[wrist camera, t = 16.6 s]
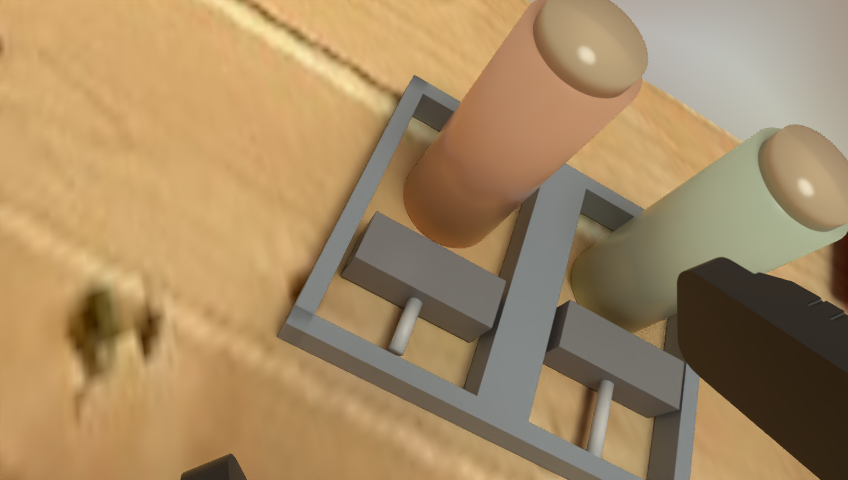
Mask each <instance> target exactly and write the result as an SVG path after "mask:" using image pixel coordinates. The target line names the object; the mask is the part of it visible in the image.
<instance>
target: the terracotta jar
mask: <svg viewBox="0 0 848 480" xmlns="http://www.w3.org/2000/svg"><path fill="white" fill-rule="evenodd" d="M647 62H648V53H647V48H646V45H645V42H644V40H643V38H642V36H641V34H640V32H639V30H638V29H637V27H636V26H635V24H634V23H633V22H632V20H631V19H630V18H629V17H628V16H627V15H626V14H625V13H624V12H623V11H622V10H621V9H620V8H619V7H618V6H616V5H615V4H614V3H612V2H611V1H610V0H535V1H534V2H533V3H531V5H530V6H529V7H528V8H527V9H526V11H525V12H524V14H523V15H522V17H521V18H520V19H519V21H518V22H517V24H516V25H515V26H514V28H513V29H512V31H511V32H510V33H509V35H508V36H507V38H506V39H505V41H504V42H503V43H502V45H501V46H500V48H499V49H498V50H497V52H496V53H495V55H494V56H493V57H492V59H491V60H490V62H489V63H488V64H487V66H486V67H485V69H484V70H483V72H482V73H481V74H480V76H479V77H478V79H477V80H476V81H475V83H474V84H473V86H472V87H471V88H470V90H469V91H468V93H467V94H466V95H465V97H464V98H463V100H462V101H461V103H460V104H459V105H458V107H457V108H456V110H455V111H454V112H453V114H452V115H451V117H450V118H449V119H448V121H447V122H446V124H445V125H444V127H443V128H442V129H441V131H440V132H439V134H438V135H437V136H436V138H435V139H434V141H433V142H432V143H431V145H430V146H429V148H428V149H427V150H426V152H425V153H424V155H423V156H422V158H421V159H420V160H419V162H418V163H417V165H416V166H415V167H414V169H413V170H412V172H411V173H410V174H409V176H408V178H407V180H406V182H405V186H404V195H403V196H404V203H405V207H406V210H407V213H408V215H409V217H410V219H411V220H412V222H413V223H414V225H415V226H416V227H417V228H418V229H419V230H420V231H421V232H422V233H423V234H424V235H425V236H427V237H428V238H429V239H431V240H433V241H434V242H436V243H438V244H441V245H444V246H447V247H452V248H465V247H470V246H473V245H475V244H477V243H479V242H480V241H481V240H483V239H484V238H485V237H486V236H487V235H488V234H489V233H490V232H491V231H493V230H494V229H495V228H496V227H497V226H498V225H499V224H500V223H501V222H502V221H503V220H504V219H506V218H507V217H508V216H509V215H510V214H511V213H512V212H513V211H514V210H515V209H516V208H517V207H519V206H520V205H521V204H522V203H523V202H524V201H525V200H526V199H527V198H528V197H529V196H530V195H532V194H533V193H534V192H535V191H536V190H537V189H538V188H539V187H540V186H541V185H542V184H543V183H545V182H546V181H547V180H548V179H549V178H550V177H551V176H552V175H553V174H554V173H555V172H556V171H558V170H559V169H560V168H561V167H562V166H563V165H564V164H565V163H566V162H567V161H568V160H569V159H570V158H572V157H573V156H574V155H575V154H576V153H577V152H578V151H579V150H580V149H581V148H582V147H583V146H585V145H586V144H587V143H588V142H589V141H590V140H591V139H592V138H593V137H594V136H595V135H596V134H598V133H599V132H600V131H601V130H602V129H603V128H604V127H605V126H606V125H607V124H608V123H609V122H611V121H612V120H613V119H614V118H615V117H616V116H617V115H618V114H619V113H620V112H621V111H622V110H624V109H625V108H626V107H627V106H628V105H629V104H630V103H631V102H632V101H633V100H634V99H635V98H636V97H637V95H638V93H639V91H640V88H641V84H642V75H643V74H644V72H645V70H646V68H647Z"/></svg>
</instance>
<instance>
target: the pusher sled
mask: <svg viewBox="0 0 848 480" xmlns="http://www.w3.org/2000/svg"><path fill="white" fill-rule="evenodd" d="M341 276H342V277H344V278H346V279H348V280H350V281H352V282H354V283H356V284H357V285H359V286H361V287H363V288H365V289H367V290H369V291H371V292H373V293H375V294H377V295H379V296H381V297H383V298H385V299H387V300H388V301H390V302H392V303H394V304H396V305H398V306H400V307H402V308H404V311H403V313H402V316H401V318H400V321H399V323H398V326H397V328H396V331H395V333H394V336H393V338H392V341H391V343H390V345H389V348H388V350H389V352H391V353H392V354H394V355H397V356H402V355H403V354H404V351H405V348H406V346H407V343H408V341H409V338H410V335H411V333H412V330H413V328H414V325H415V323H416V320H417V317H418V316H419V317H421V318H423V319H425V320H427V321H429V322H431V323H433V324H435V325H437V326H439V327H441V328H443V329H445V330H447V331H449V332H450V333H452V334H454V335H456V336H458V337H460V338H462V339H464V340H466V341H468V342H472V341H473V340H475V339H476V338H478V337H479V336H481V335H482V334H484V333H485V332H487V331H488V330H490V329H492V326H493V323H494V320H495V316H496V313H497V310H498V307H499V303H500V300H501V297H502V294H503V290H504V287H505V284H506V281H505V280H503V279H501V278H500V277H498V276H496V275H494V274H492V273H490V272H488V271H487V270H485V269H483V268H481V267H479V266H477V265H476V264H474V263H472V262H470V261H468V260H466V259H464V258H463V257H461V256H459V255H457V254H455V253H453V252H451V251H450V250H448V249H446V248H444V247H442V246H440V245H439V244H437V243H435V242H433V241H431V240H429V239H427V238H426V237H424V236H422V235H420V234H418V233H416V232H414V231H413V230H411V229H409V228H407V227H405V226H403V225H401V224H400V223H398V222H396V221H394V220H392V219H390V218H389V217H387V216H385V215H383V214H381V213H379V212H377V211H376V213H375V214H374V216H373V217H372V219H371V220H370V221H369V223H368V224H367V226H366V227H365V229H364V230H363V232H362V233H361V235H360V237H359V240H358V242H357V244H356V246H355V248H354V250H353V252H352V254H351V256H350V258H349V260H348V262H347V264H346V266H345V268H344V270H343V273H342V275H341Z"/></svg>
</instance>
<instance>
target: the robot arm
mask: <svg viewBox="0 0 848 480" xmlns="http://www.w3.org/2000/svg"><path fill="white" fill-rule="evenodd" d="M677 337H678V345H679V348H680V351H681V353H682V355H683V357H684V359H685V361H686V362H687V364H688V365H689V367H690V368H691V369H692V370H693V371H694V372H695V373H696V374H697V375H698V376H700V377H701V378H702V379H703V380H704V381H705V382H707V383H708V384H709V385H710V386H711V387H712V388H714V389H715V390H716V391H717V392H718V393H719V394H721V395H722V396H723V397H724V398H725V399H727V400H728V401H729V402H730V403H731V404H732V405H734V406H735V407H736V408H737V409H738V410H739V411H741V412H742V413H743V414H744V415H745V416H746V417H748V418H749V419H750V420H751V421H752V422H753V423H755V424H756V425H757V426H758V427H759V428H760V429H762V430H763V431H764V432H765V433H766V434H768V435H769V436H770V437H771V438H772V439H773V440H775V441H776V442H777V443H778V444H779V445H780V446H782V447H783V448H784V449H785V450H786V451H787V452H789V453H790V454H791V455H792V456H793V457H794V458H796V459H797V460H798V461H799V462H800V463H801V464H803V465H804V466H805V467H806V468H807V469H809V470H810V471H811V472H812V473H813V474H814V475H816V476H817V477H818V478H819V479H820V480H848V315H846V314H845V313H844V311H843V310H842V309H840V308H838V307H836V306H835V305H833V304H831V303H829V302H827V301H825V302H823V301H822V300H821V298H820V297H819V296H817V295H815V294H813V293H812V292H810V291H808V290H806V289H805V288H803V287H801V286H799V285H798V284H796V283H794V282H792V281H788V280H785V279H781V278H778V277H774V276H771V275H767V274H764V273H760V272H758V273H756V274H754V273H752V272H750V271H749V270H747V269H745V268H744V267H742V266H740V265H739V264H737V263H735V262H734V261H732V260H730V259H728V258H725V257H717V258H714V259H712V260H710V261H707V262H705V263H702V264H700V265H697V266H695V267H692V268H690V269H687V270H685V271H683V272H681V273H680V274H679V276H678V279H677ZM181 480H247V479H246V477H245V475H244V473H243V471H242V469H241V467H240V465H239V464H238V462H237V460H236V458H235V457H234V456H233V455H232V454H228V455H226V456H223V457H221V458H218V459H216V460H213V461H211V462H208V463H206V464H204V465H201V466H199V467H196V468H194V469H191V470H189V471H186V472H184V473H183V474H182V476H181Z"/></svg>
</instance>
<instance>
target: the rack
mask: <svg viewBox="0 0 848 480" xmlns="http://www.w3.org/2000/svg"><path fill="white" fill-rule="evenodd" d="M460 103H461V102H460V101H458V100H456V99H455V98H453V97H451V96H450V95H448V94H446V93H444V92H443V91H441V90H439V89H438V88H436V87H434V86H433V85H431V84H429V83H427V82H426V81H424V80H422V79H421V78H419V77H417V76H415V75H414V76H413V78H412V80H411V81H410V83H409V85H408V87H407V88H406V90H405V92H404V94H403V95H402V97H401V99H400V101H399V103H398V105H397V107H396V109H395V111H394V113H393V114H392V116H391V118H390V120H389V122H388V124H387V126H386V128H385V130H384V132H383V134H382V136H381V138H380V139H379V141H378V143H377V145H376V147H375V149H374V151H373V153H372V155H371V157H370V159H369V161H368V163H367V165H366V166H365V168H364V170H363V172H362V174H361V176H360V178H359V180H358V182H357V184H356V186H355V188H354V190H353V192H352V193H351V195H350V197H349V199H348V201H347V203H346V205H345V207H344V209H343V211H342V213H341V215H340V217H339V219H338V220H337V222H336V224H335V226H334V228H333V230H332V232H331V234H330V236H329V238H328V240H327V242H326V244H325V246H324V247H323V249H322V251H321V253H320V255H319V257H318V259H317V261H316V263H315V265H314V267H313V269H312V271H311V272H310V274H309V276H308V278H307V280H306V282H305V284H304V286H303V288H302V290H301V292H300V294H299V296H298V298H297V299H296V301H295V303H294V305H293V307H292V309H291V311H290V313H289V315H288V317H287V319H286V321H285V323H284V325H283V326H282V328H281V330H280V332H279V334H278V336H277V337H279V338H281V339H283V340H285V341H287V342H289V343H291V344H293V345H295V346H297V347H299V348H301V349H303V350H305V351H307V352H309V353H311V354H313V355H315V356H317V357H319V358H321V359H323V360H325V361H327V362H330V363H332V364H334V365H336V366H338V367H340V368H342V369H344V370H346V371H348V372H350V373H352V374H354V375H356V376H358V377H360V378H362V379H364V380H366V381H368V382H370V383H372V384H374V385H376V386H378V387H381V388H383V389H385V390H387V391H389V392H391V393H393V394H395V395H397V396H399V397H401V398H403V399H405V400H407V401H409V402H411V403H413V404H415V405H417V406H419V407H421V408H423V409H425V410H427V411H429V412H432V413H434V414H436V415H438V416H440V417H442V418H444V419H446V420H448V421H450V422H452V423H454V424H456V425H458V426H460V427H462V428H464V429H466V430H468V431H470V432H472V433H474V434H476V435H478V436H480V437H483V438H485V439H487V440H489V441H491V442H493V443H495V444H497V445H499V446H501V447H503V448H505V449H507V450H509V451H511V452H513V453H515V454H517V455H519V456H521V457H523V458H525V459H527V460H529V461H531V462H533V463H536V464H538V465H540V466H542V467H544V468H546V469H548V470H550V471H552V472H554V473H556V474H558V475H560V476H562V477H564V478H566V479H568V480H643V479H641V478H639V477H637V476H635V475H633V474H631V473H629V472H627V471H625V470H623V469H621V468H619V467H617V466H615V465H613V464H611V463H609V462H607V461H605V460H603V459H601V457H602V451H603V445H604V440H605V434H606V428H607V422H608V417H609V411H610V405H611V400H614V401H616V402H618V403H620V404H622V405H623V406H625V407H627V408H629V409H631V410H633V411H635V412H637V413H639V414H641V415H643V416H645V417H646V418H650V417H654V416H655V422H654V430H653V438H652V445H651V453H650V460H649V468H648V476H647V480H690V473H691V462H692V451H693V441H694V430H695V420H696V409H697V399H698V388H699V377H700V376H698V375H697V374H696V373H695V372H694V371H693V370H692V369H691V368H690V367H689V365H688V364H687V362H686V361H685V359H684V357H683V355H682V353H681V351H680V348H679V345H678V337H677V314H675V315H673V316H671V317H668V324H667V331H666V339H665V347H664V351H663V350H661V349H659V348H657V347H656V346H654V345H652V344H650V343H648V342H646V341H645V340H643V339H641V338H639V337H637V336H635V335H634V334H632V333H630V332H628V331H626V330H624V329H623V328H621V327H619V326H617V325H615V324H613V323H612V322H610V321H608V320H606V319H604V318H602V317H601V316H599V315H597V314H595V313H593V312H591V311H590V310H588V309H586V308H584V307H582V306H580V305H579V304H577V303H575V302H573V301H571V300H569V301H567V302H566V303H564V304H562V305H561V306H559V307H557V304H558V300H559V296H560V291H561V287H562V283H563V279H564V275H565V271H566V267H567V263H568V259H569V255H570V251H571V247H572V243H573V239H574V235H575V231H576V227H577V223H578V219H579V215H580V212H581V213H583V214H584V215H586V216H588V217H590V218H591V219H593V220H595V221H597V222H598V223H600V224H602V225H604V226H605V227H607V228H609V229H611V230H612V231H615V230H616V229H618V228H619V227H620V226H622V225H623V224H625V223H626V222H628V221H629V220H631V219H632V218H634V217H635V216H636V215H638V214H639V213H641V212H642V211H644V209H643V208H641V207H639V206H637V205H636V204H634V203H632V202H631V201H629V200H627V199H625V198H624V197H622V196H620V195H619V194H617V193H615V192H614V191H612V190H610V189H608V188H607V187H605V186H603V185H602V184H600V183H598V182H596V181H595V180H593V179H591V178H590V177H588V176H586V175H585V174H583V173H581V172H579V171H578V170H576V169H574V168H573V167H571V166H569V165H567V164H566V163H565V164H564V165H563V166H562V167H561V168H560V169H559V170H558V171H556V172H555V173H554V174H553V175H552V176H551V177H550V178H549V179H548V180H547V181H546V182H545V183H543V184H542V185H541V186H540V187H539V188H538V189H537V190H536V191H535V192H534V193H533V194H532V195H530V196H529V197H528V198H527V199H526V200H525V201H524V202H523V203H522V206H521V209H520V212H519V216H518V219H517V222H516V225H515V228H514V231H513V234H512V238H511V241H510V244H509V247H508V250H507V253H506V257H505V260H504V263H503V266H502V269H501V272H500V276H499V277H500V278H501V279H503V280H505V281H506V284H505V287H504V290H503V294H502V297H501V300H500V303H499V307H498V310H497V313H496V316H495V320H494V323H493V326H492V329H490V330H488V331H487V332H485V333H484V334H482V335H481V336H480V339H479V342H478V345H477V348H476V351H475V354H474V358H473V361H472V364H471V367H470V370H469V373H468V377H467V380H466V383H465V386H464V389H462V388H460V387H458V386H456V385H454V384H452V383H450V382H448V381H446V380H444V379H442V378H440V377H438V376H436V375H434V374H432V373H430V372H428V371H426V370H424V369H422V368H420V367H418V366H416V365H414V364H412V363H410V362H408V361H406V360H404V359H402V358H400V357H398V356H396V355H394V354H392V353H390V352H388V351H386V350H384V349H382V348H380V347H378V346H376V345H374V344H372V343H370V342H368V341H366V340H364V339H362V338H360V337H358V336H356V335H354V334H352V333H350V332H348V331H346V330H344V329H342V328H340V327H338V326H336V325H334V324H332V323H330V322H328V321H326V320H324V319H322V318H320V317H318V316H316V315H314V314H315V312H316V310H317V308H318V306H319V304H320V302H321V300H322V298H323V296H324V294H325V292H326V290H327V288H328V286H329V284H330V282H331V280H332V278H333V275H334V273H335V271H336V269H337V267H338V265H339V263H340V261H341V259H342V257H343V255H344V253H345V251H346V249H347V247H348V245H349V243H350V241H351V239H352V237H353V235H354V233H355V231H356V229H357V227H358V225H359V223H360V221H361V219H362V217H363V215H364V213H365V211H366V209H367V206H368V204H369V202H370V200H371V198H372V196H373V194H374V192H375V190H376V188H377V186H378V184H379V182H380V180H381V178H382V176H383V174H384V172H385V170H386V168H387V166H388V164H389V162H390V160H391V158H392V156H393V154H394V152H395V150H396V148H397V146H398V144H399V142H400V140H401V137H402V135H403V133H404V131H405V129H406V127H407V125H408V123H409V121H410V119H411V117H412V116H413V117H415V118H417V119H419V120H420V121H422V122H424V123H426V124H427V125H429V126H431V127H433V128H434V129H436V130H438V131H441V129H442V128H443V127H444V125H445V124H446V122H447V121H448V119H449V118H450V117H451V115H452V114H453V112H454V111H455V110H456V108H457V107H458V105H459V104H460ZM542 364H545V365H547V366H549V367H551V368H553V369H554V370H556V371H558V372H560V373H562V374H564V375H566V376H568V377H570V378H572V379H574V380H576V381H577V382H579V383H581V384H583V385H585V386H587V387H589V388H591V389H593V390H595V391H597V397H596V403H595V408H594V413H593V419H592V424H591V429H590V434H589V440H588V445H587V450H584V449H582V448H580V447H578V446H576V445H574V444H572V443H570V442H568V441H566V440H564V439H562V438H560V437H558V436H556V435H554V434H552V433H550V432H548V431H546V430H544V429H542V428H540V427H538V426H536V425H534V424H532V423H530V422H528V421H529V417H530V413H531V408H532V404H533V400H534V396H535V392H536V388H537V384H538V380H539V376H540V372H541V368H542Z"/></svg>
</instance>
